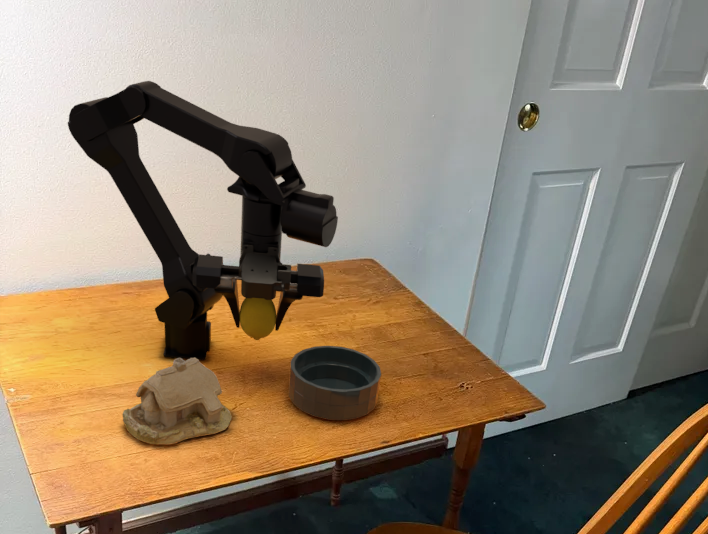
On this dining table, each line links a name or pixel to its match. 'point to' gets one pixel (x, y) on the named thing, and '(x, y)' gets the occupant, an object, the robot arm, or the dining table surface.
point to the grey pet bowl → (334, 382)
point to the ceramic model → (178, 405)
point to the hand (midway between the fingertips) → (257, 328)
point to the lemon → (257, 317)
